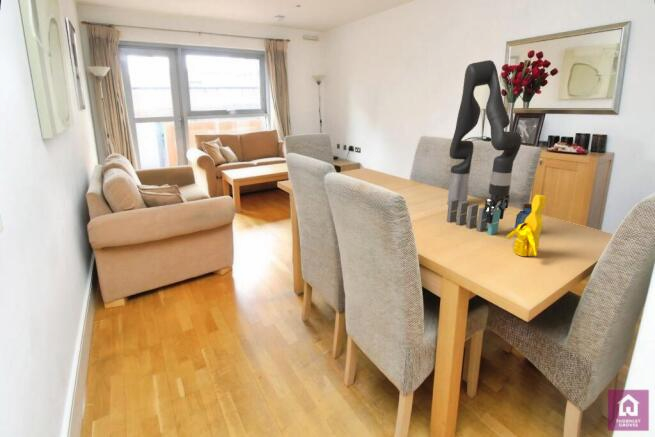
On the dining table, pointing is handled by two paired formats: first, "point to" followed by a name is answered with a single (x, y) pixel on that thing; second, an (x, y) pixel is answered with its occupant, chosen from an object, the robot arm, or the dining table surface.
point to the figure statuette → (529, 230)
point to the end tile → (494, 223)
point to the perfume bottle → (523, 214)
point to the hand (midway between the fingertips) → (494, 220)
